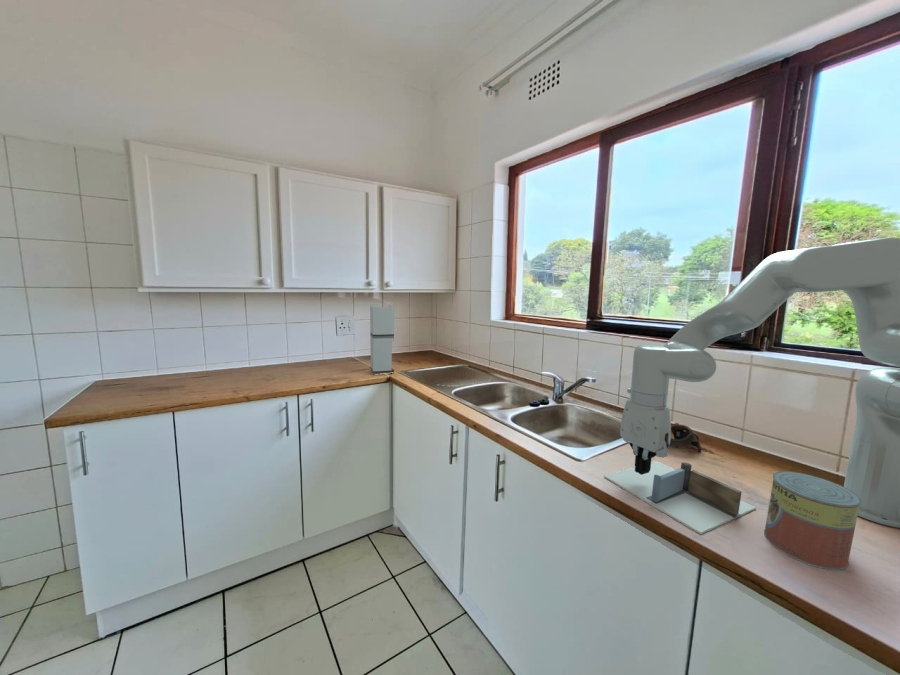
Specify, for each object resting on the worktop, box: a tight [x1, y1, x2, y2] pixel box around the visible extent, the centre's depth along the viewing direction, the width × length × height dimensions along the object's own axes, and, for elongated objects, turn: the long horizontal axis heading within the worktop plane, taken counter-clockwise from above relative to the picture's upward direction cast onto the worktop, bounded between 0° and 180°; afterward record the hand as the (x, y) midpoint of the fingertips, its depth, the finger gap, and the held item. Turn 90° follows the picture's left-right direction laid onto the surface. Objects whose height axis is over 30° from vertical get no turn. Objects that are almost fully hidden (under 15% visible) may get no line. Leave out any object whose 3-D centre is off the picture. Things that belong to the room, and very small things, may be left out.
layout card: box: [603, 460, 757, 535], centre depth 84 cm, size 23×20×1 cm
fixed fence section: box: [680, 461, 743, 515], centre depth 80 cm, size 12×2×7 cm, turn 26°
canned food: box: [763, 470, 861, 571], centre depth 66 cm, size 11×11×12 cm
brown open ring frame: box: [669, 422, 703, 453], centre depth 108 cm, size 12×10×8 cm
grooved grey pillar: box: [369, 305, 395, 375], centre depth 190 cm, size 11×11×35 cm
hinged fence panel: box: [651, 467, 685, 502], centre depth 81 cm, size 10×1×6 cm, turn 119°
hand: (642, 471), depth 86 cm, fingers closed
